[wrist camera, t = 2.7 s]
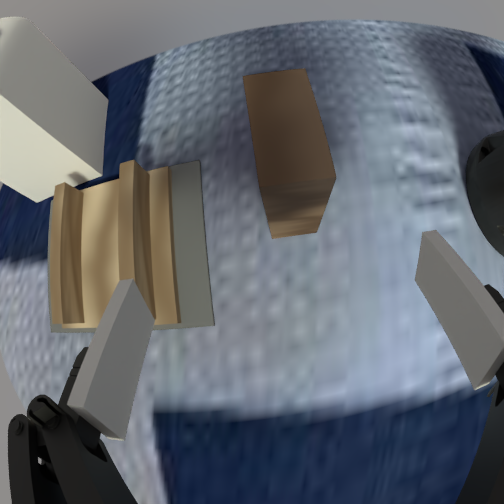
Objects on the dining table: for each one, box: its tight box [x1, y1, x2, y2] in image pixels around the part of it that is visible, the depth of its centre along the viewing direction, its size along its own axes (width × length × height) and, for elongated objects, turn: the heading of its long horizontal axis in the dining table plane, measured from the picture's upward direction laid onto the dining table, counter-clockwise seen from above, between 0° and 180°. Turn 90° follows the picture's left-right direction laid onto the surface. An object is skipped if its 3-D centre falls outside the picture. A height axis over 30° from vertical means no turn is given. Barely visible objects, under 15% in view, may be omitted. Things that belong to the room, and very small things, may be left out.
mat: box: [48, 160, 215, 333], centre depth 28 cm, size 20×16×1 cm
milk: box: [0, 17, 108, 202], centre depth 19 cm, size 12×12×26 cm
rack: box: [50, 160, 181, 328], centre depth 26 cm, size 14×15×4 cm
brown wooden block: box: [243, 68, 336, 239], centre depth 21 cm, size 4×8×12 cm, turn 7°
